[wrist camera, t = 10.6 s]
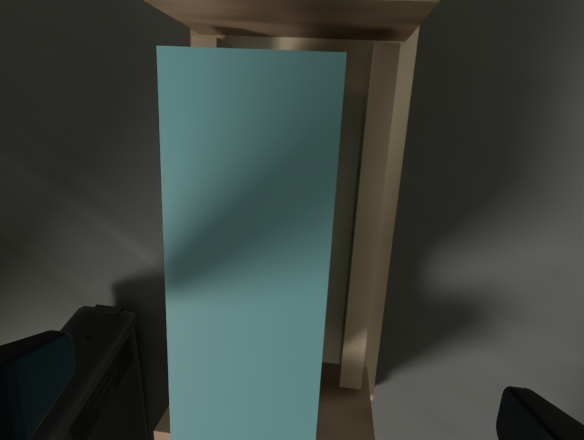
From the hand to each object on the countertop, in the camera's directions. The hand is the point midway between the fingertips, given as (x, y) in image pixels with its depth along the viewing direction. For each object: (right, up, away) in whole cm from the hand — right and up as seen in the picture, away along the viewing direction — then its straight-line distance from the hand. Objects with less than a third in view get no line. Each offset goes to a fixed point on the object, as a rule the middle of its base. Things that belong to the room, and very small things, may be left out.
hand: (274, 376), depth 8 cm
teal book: (0, +4, +11) cm, 12 cm away
